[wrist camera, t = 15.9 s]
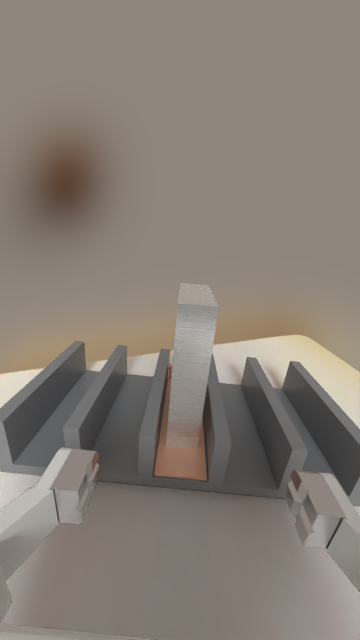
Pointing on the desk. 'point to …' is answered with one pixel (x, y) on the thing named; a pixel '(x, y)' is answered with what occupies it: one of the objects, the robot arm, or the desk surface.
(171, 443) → the panel
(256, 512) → the desk surface
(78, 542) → the desk surface
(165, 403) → the rack
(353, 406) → the desk surface
